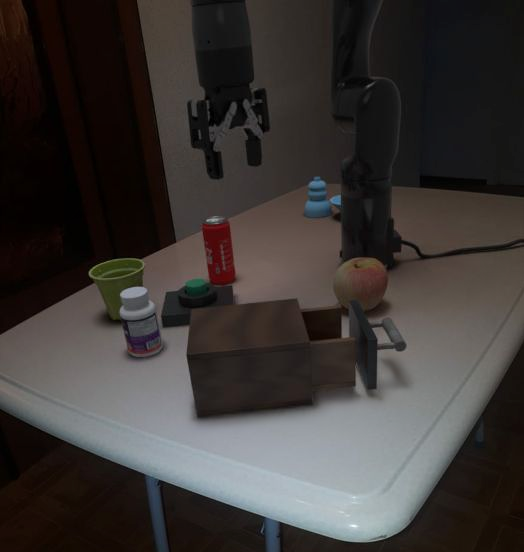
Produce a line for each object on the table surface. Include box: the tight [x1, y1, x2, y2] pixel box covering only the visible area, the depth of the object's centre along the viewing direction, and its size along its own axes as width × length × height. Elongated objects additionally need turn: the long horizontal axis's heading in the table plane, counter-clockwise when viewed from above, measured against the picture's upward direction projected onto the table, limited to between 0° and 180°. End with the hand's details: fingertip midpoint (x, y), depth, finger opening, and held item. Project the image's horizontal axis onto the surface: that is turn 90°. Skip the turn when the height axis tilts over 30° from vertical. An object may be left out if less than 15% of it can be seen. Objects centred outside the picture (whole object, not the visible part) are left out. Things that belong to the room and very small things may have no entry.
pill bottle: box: [120, 286, 164, 358], centre depth 84 cm, size 5×5×10 cm
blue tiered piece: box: [304, 176, 341, 219], centre depth 137 cm, size 18×10×9 cm, turn 56°
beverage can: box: [201, 215, 236, 286], centre depth 105 cm, size 5×5×12 cm
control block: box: [160, 282, 235, 328], centre depth 96 cm, size 12×10×4 cm
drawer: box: [300, 300, 408, 392], centre depth 73 cm, size 18×11×7 cm, turn 94°
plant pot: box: [88, 257, 146, 321], centre depth 96 cm, size 9×9×9 cm
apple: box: [332, 258, 389, 313], centre depth 91 cm, size 9×9×8 cm
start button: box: [184, 278, 208, 295], centre depth 95 cm, size 4×4×2 cm
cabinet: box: [185, 297, 314, 418], centre depth 73 cm, size 15×13×9 cm
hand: (236, 172), depth 81 cm, fingers open, 8 cm apart
